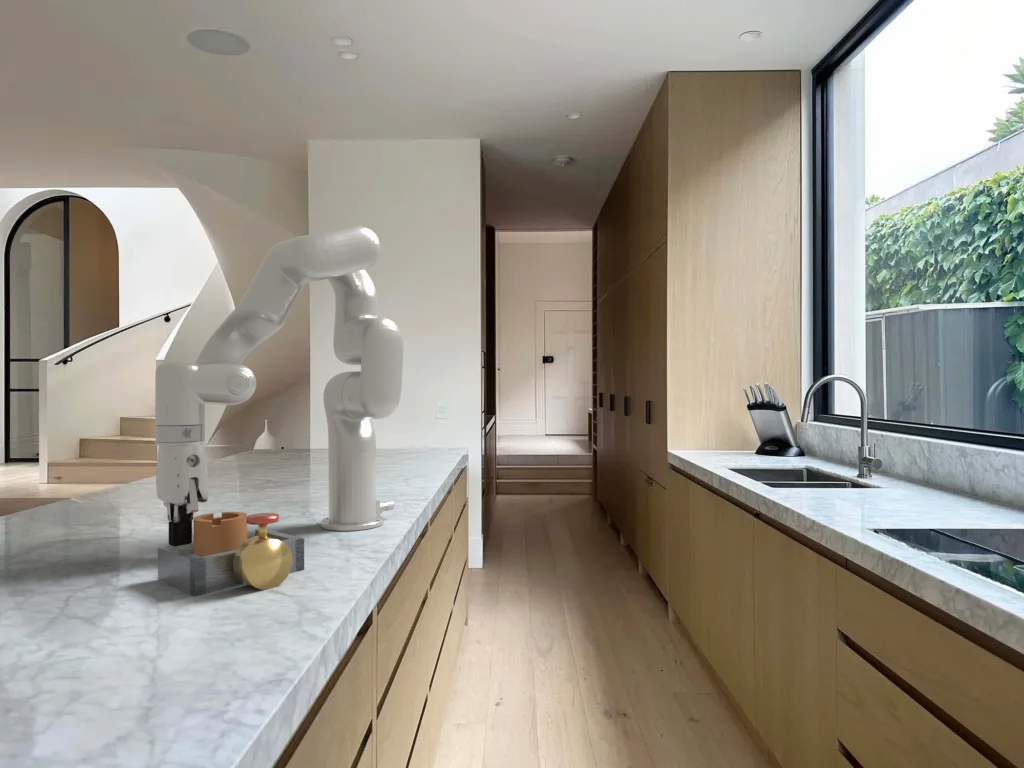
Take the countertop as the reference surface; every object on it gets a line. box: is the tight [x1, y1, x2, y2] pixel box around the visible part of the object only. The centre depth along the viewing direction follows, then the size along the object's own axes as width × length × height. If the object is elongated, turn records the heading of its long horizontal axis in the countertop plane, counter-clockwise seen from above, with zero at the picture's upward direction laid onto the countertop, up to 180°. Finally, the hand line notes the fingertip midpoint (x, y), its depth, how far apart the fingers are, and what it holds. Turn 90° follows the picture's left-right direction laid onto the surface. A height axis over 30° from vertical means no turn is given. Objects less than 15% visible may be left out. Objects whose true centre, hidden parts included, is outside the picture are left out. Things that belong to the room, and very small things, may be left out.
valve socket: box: [157, 512, 305, 598], centre depth 101 cm, size 17×17×10 cm
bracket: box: [193, 511, 248, 557], centre depth 119 cm, size 18×8×7 cm, turn 22°
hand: (180, 544), depth 114 cm, fingers closed
